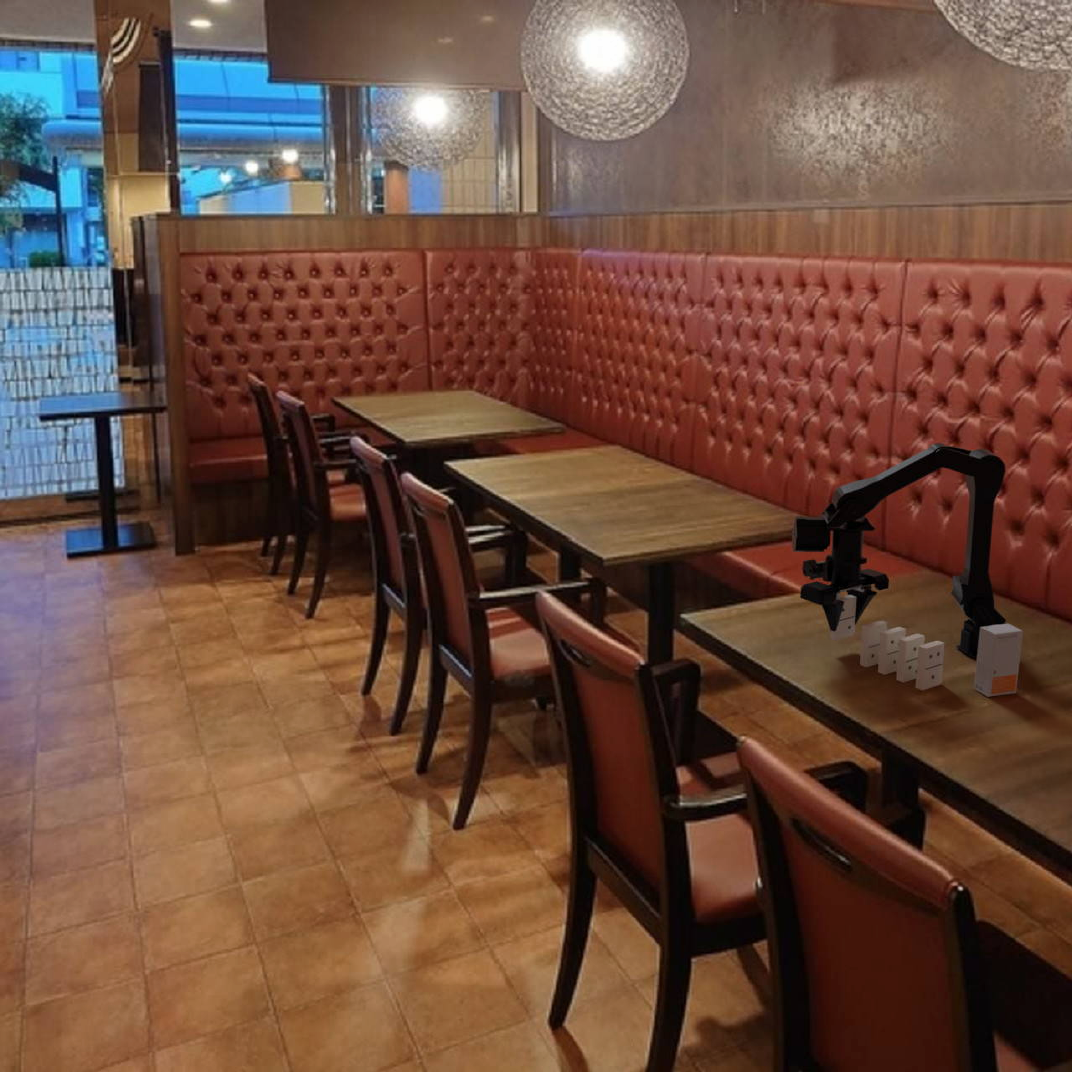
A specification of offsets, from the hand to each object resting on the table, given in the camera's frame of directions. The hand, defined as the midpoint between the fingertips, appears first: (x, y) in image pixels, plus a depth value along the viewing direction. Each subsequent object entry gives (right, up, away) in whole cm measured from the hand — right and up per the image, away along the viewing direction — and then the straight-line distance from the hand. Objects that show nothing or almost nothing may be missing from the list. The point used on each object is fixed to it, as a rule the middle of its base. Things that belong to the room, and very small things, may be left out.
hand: (842, 628), depth 222 cm
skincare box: (+22, -10, -19) cm, 31 cm away
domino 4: (+9, -8, -13) cm, 17 cm away
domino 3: (+7, -7, -9) cm, 13 cm away
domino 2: (+4, -6, -5) cm, 9 cm away
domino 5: (+11, -9, -16) cm, 22 cm away
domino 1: (0, -2, +1) cm, 2 cm away
